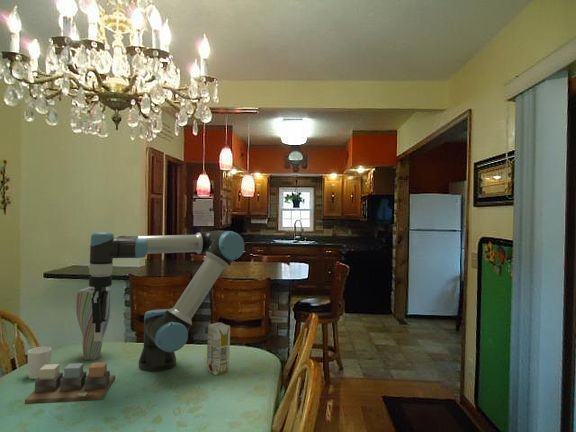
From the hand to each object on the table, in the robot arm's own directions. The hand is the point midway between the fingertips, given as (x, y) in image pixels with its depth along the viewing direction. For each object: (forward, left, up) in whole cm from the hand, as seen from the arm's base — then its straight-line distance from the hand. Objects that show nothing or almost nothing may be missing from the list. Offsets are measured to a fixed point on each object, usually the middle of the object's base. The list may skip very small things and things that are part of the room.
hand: (98, 340), depth 145 cm
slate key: (+8, 0, -14) cm, 16 cm away
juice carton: (-43, -12, -18) cm, 48 cm away
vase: (+11, -34, -18) cm, 40 cm away
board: (+8, 0, -17) cm, 19 cm away
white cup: (+25, -15, -18) cm, 34 cm away
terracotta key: (0, 0, -14) cm, 14 cm away
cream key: (+16, 0, -14) cm, 21 cm away
